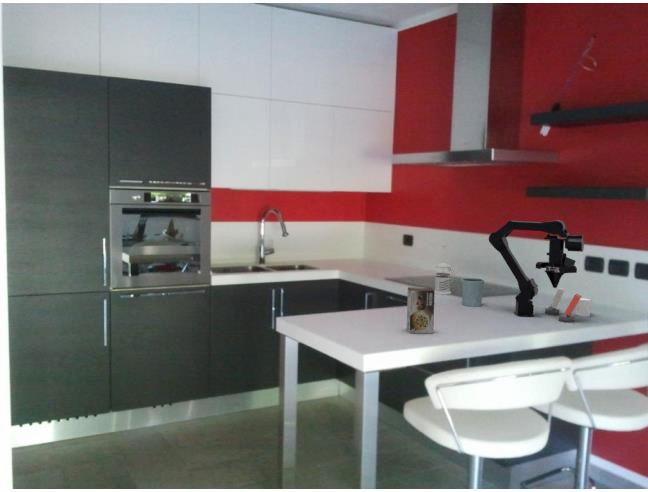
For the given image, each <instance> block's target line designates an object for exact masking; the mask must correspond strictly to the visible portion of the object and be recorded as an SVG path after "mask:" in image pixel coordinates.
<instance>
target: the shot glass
mask: <svg viewBox="0 0 648 492" xmlns="http://www.w3.org/2000/svg"><path fill="white" fill-rule="evenodd" d="M592 303H593V299H590V298H586V297H581V298H580V300H579V302H578V304H577V305H576V307H575V309H574V310H575V312H574V313H575V316H580V317H590V316H591V309H592Z"/></svg>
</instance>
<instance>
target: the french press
mask: <svg viewBox="0 0 648 492" xmlns="http://www.w3.org/2000/svg"><path fill="white" fill-rule="evenodd" d="M446 246H447V245H446V244H442V245H441V247H442V248H446ZM444 258H445V257H444V256H443V258H442V259H443V262H442V263H441V262H440V263H438V264H436V265H435V268H438V269H439V268H440V269H447V270H449V271H450V272H451V273H452V274H455V272H454V271H455V270H453V269H452V266H451V265H450V264H448V263H445V261H444ZM435 274H436V276H435V277H434V289H433V290H434V291H435V292H434V294H441V295H450V294H452V291H451V283H452V282H453V281H454V279H455V277H451V276H450V275H451V274H450V273H446V272H436V273H435Z"/></svg>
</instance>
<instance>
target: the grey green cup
mask: <svg viewBox="0 0 648 492" xmlns="http://www.w3.org/2000/svg"><path fill="white" fill-rule="evenodd" d="M460 280H461V296H462V298H461V299H462V300H461V301H462V302H461V303H462V306H463V307H464V306H465V307H469V308H470V307H472V308H477V307H482V304H483V303H482V301H483V294H484V293H483V290H484V283H485V279H482V278H476V277H464V278H461V279H460Z"/></svg>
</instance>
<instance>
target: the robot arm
mask: <svg viewBox="0 0 648 492" xmlns="http://www.w3.org/2000/svg"><path fill="white" fill-rule="evenodd" d="M515 230H517V231H531V232H533V231H535V232H543V233H546V234H547V235H546V236H545V237H544V238H543V239H544V240H548V242H549V243H548V252H546V256H548V261H537V262H536V263H535V269H538V270H541V269H545V270H544V272H545V274H546V275H547V277H548V280H549V281H550V283H551V285H552V287H553V289H557V288H558V285H559V283H560V280H561V278H562V276H564V275H565V274H575V273H577V272H578V268H577V266H576V265H575V264H576V260H575V259H573V258H569V257H567V253H566V252H564V251H565V250H564V249H566V250H567V252H583V251H584V249H585V242H584V234H577V235H576V234H570V233H569V231H568V230H567V227H566V223H565V222H564V221H562V220H559V219H557V220H556V219H555V220H551V221H550V220H549V221H542V222H541V221H523V220H522V221H521V220H519V221H518V220H509V221H507V222H506V224H504V225H503V226H501V227H500V228H499V229H498V230H496V231H494V232H491V233H490V234H489V236H488V242H489V244H490V245H491V246H492V247H493V248H494V249H495V250H496V251H497V252H498V253H499V254H500V255H501V257H502V259H503V260H504V262H505V263H506V265H507V266H508V269H509V270H510V271H511V273H512V275H513V276H514V278H515V280H516V281H517V285H518V289H519V293H518V294H517V295H515V297H514V298H515V311H514V312H513V314H515V315H516V316H517V317H534V308H535V307H534V306H535V305H534V304H533V303H534V301H533V299H534V297H536V296H537V295H538V293H539V288H538V287H539V285H538V284H537V283H536V281H535V278H529V277H528V276H527V275H526V273H525V271H524V270H523V269H522V267H521V265H520V264H519V262H518V261H517V259H516V257H515V255H514V254H513V252H512V250H511V249H510V247H509V241H508V238H507V237H509V236H510V234H511V233H512V232H513V231H515Z"/></svg>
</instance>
